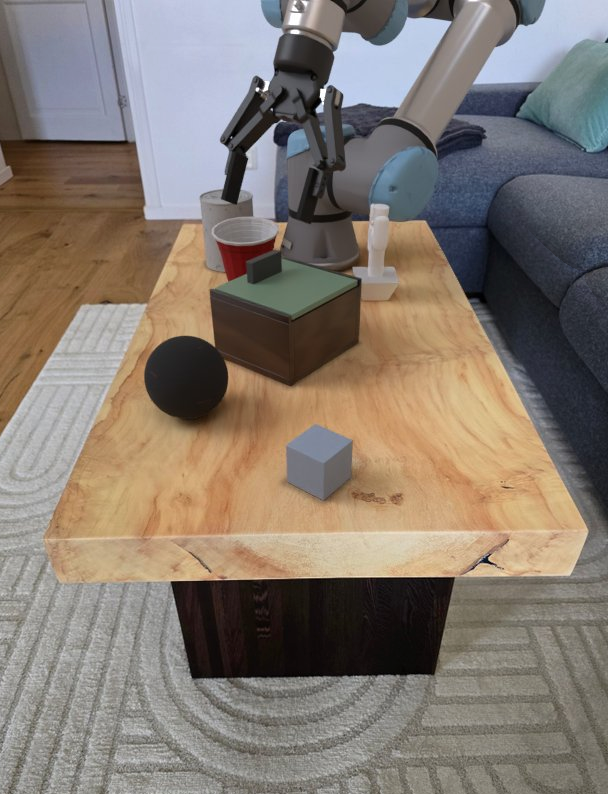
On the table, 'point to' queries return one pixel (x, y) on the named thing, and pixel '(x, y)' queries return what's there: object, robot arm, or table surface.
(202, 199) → the grey tin can
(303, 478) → the block
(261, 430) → the table surface
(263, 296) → the slide door
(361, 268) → the figurine
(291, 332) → the walnut box
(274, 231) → the plastic cup
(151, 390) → the speaker
